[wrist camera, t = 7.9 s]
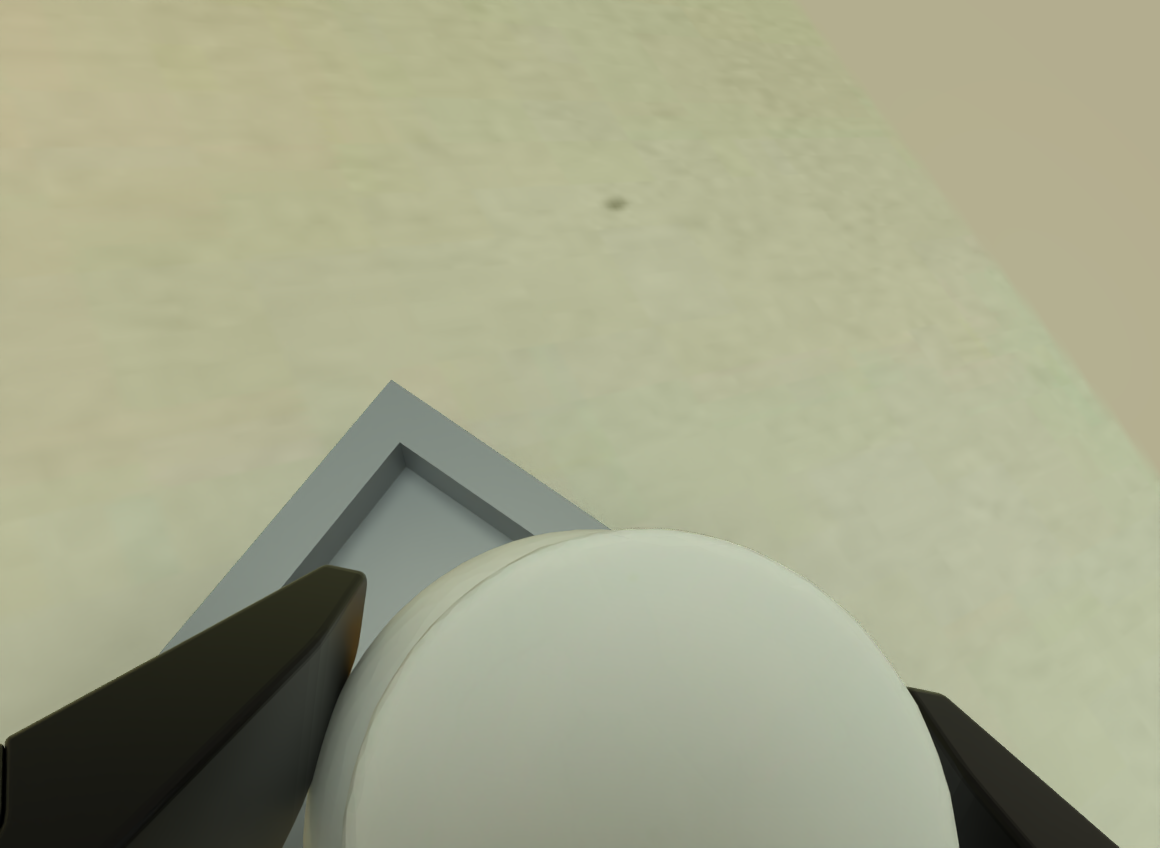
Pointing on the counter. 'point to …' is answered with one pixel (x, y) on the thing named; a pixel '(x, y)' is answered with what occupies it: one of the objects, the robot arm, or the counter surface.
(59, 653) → the counter surface
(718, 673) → the supplement bottle
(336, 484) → the tray
